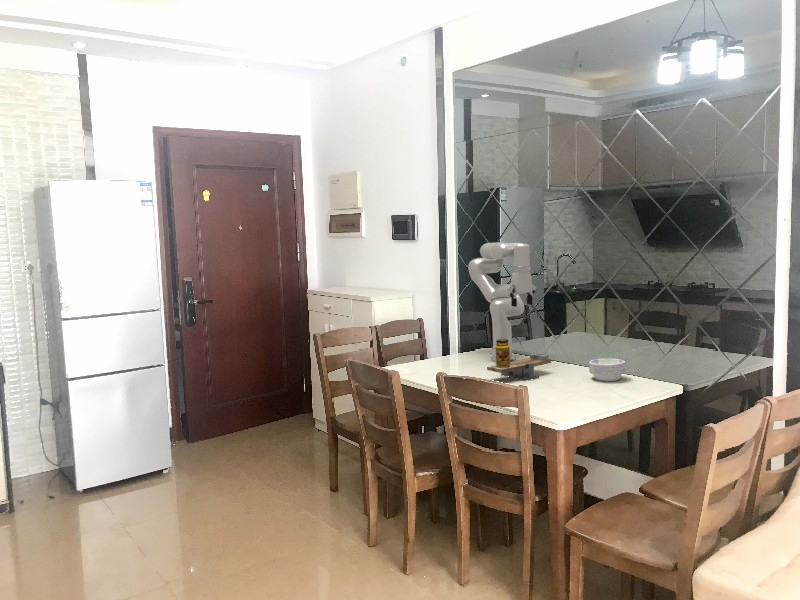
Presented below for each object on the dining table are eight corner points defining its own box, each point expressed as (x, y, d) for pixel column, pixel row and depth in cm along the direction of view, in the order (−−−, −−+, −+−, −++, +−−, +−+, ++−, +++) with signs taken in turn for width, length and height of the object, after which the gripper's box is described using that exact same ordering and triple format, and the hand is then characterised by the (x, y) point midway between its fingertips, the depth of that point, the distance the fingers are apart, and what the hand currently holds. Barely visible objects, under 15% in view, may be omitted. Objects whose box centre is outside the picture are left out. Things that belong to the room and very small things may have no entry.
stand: (501, 375, 299) (500, 360, 299) (514, 372, 304) (513, 357, 303) (526, 380, 286) (525, 365, 285) (539, 378, 291) (538, 362, 290)
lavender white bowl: (588, 375, 292) (588, 357, 291) (624, 375, 288) (624, 357, 287) (589, 382, 277) (589, 364, 277) (627, 383, 273) (627, 364, 273)
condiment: (501, 368, 283) (500, 341, 282) (489, 365, 291) (488, 339, 289) (514, 366, 287) (513, 339, 285) (503, 363, 294) (502, 337, 293)
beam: (487, 370, 290) (486, 362, 290) (535, 359, 307) (535, 352, 306) (502, 373, 282) (502, 365, 282) (551, 362, 299) (550, 355, 298)
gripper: (530, 267, 317) (530, 302, 320) (502, 270, 309) (502, 306, 311) (540, 268, 311) (540, 304, 313) (512, 271, 302) (513, 308, 305)
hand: (521, 305), depth 312 cm, fingers open, 9 cm apart
